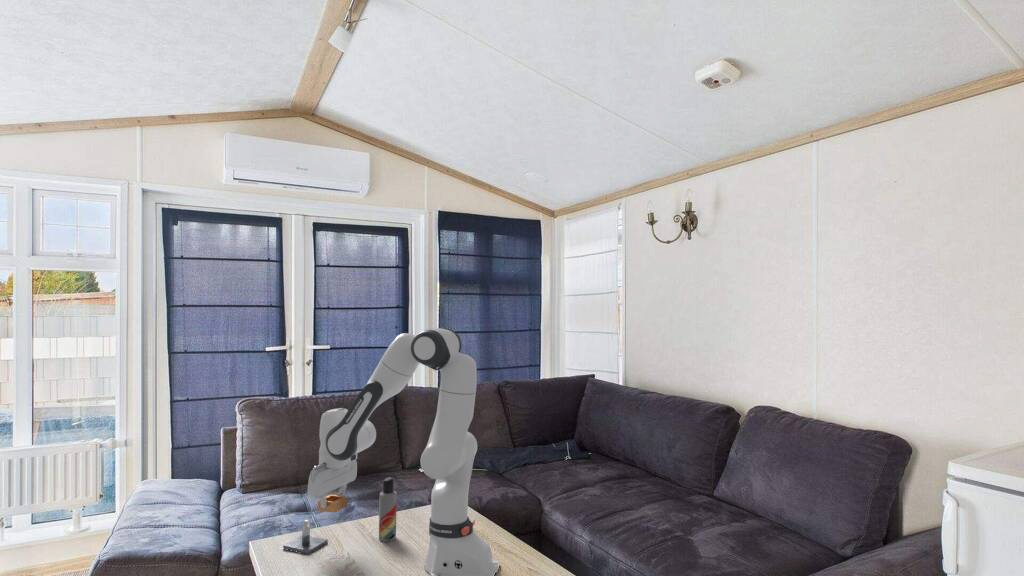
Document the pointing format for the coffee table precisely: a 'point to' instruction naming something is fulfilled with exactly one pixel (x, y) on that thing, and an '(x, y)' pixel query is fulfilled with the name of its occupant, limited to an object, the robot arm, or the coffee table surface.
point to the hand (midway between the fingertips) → (332, 502)
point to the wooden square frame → (334, 503)
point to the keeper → (306, 541)
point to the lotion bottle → (387, 511)
